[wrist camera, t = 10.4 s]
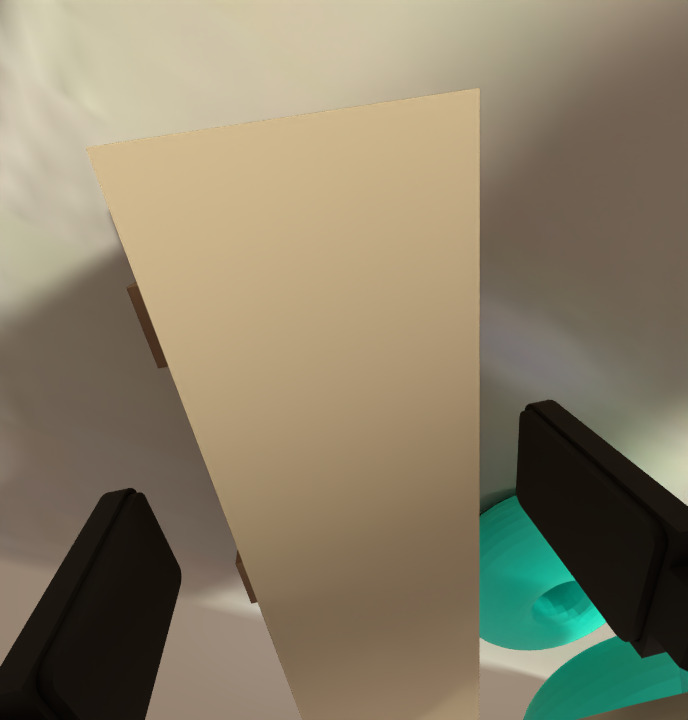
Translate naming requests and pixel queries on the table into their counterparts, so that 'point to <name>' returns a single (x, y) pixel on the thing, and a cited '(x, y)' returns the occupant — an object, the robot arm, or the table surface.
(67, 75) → the table surface
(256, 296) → the cream rectangular block
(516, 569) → the donuts
